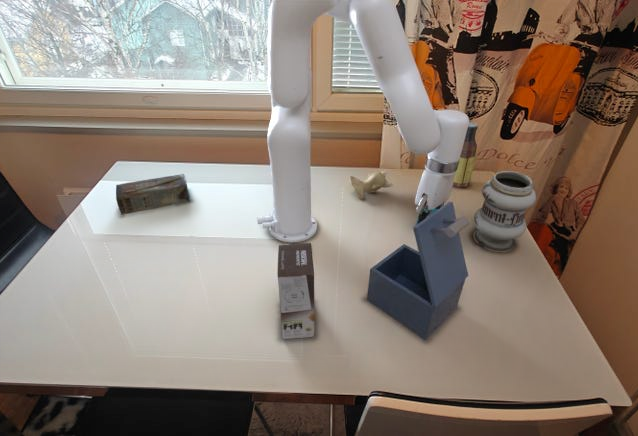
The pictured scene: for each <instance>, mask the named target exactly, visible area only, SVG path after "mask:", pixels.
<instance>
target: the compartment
mask: <svg viewBox="0 0 638 436" xmlns="http://www.w3.org/2000/svg"><path fill="white" fill-rule="evenodd" d="M368 274H369V275H368V284H367V295H366V301H367V302H369V303H371V304H372V305H374V307H377V308H378V309H379V310H381V311H382V312H383V313H385V314H387V315H388V316H389V317H391V318H392V319H394V320H395V321H396V322H398V323H399V324H401V325H403V326H404V327H405V328H407V329H408V330H410V331H411V332H412V333H414V334H416V336H418V337H420V338H422V339H423V340H424V341H427V340H429V338H430V337H431V336H432V335H433V334H434V333H435V332H436V331H437V330H438V329H439V327H441V325H442V324H443V323H445V321H446V320H447V319H448V318H449V317H450V316H451V315H452V314H453V313H454V312H455V311H456V310H458V309H457V308H458V305H459V301H460V299H461V295H462V292H463V289H464V285H465V282H466V279H467V278H465V279H464V280H463V281H462V282H461V283H460V284H459V285H458V286H457V287H456V288H455V289H454V290H453V291H452V292H451V293H450V294H449V295H448V296H447V297H446V298H445V299H444V300H443V301H442V302H441V303H440V304H439V305H438V306H437V307H433V306H432V303H431V299H430V295H429V291H428V287H427V283H426V279H425V275H424V271H423V267H422V263H421V259H420V255H419V251H418V250H416V249H414V248H413V247H411V246H409V245H407V244H405V243H404V244H402V245H401V246H399V247H398V248H397V249H395V250H394V251H392V252H390V254H388V255H387V256H386V257H384V258H382V260H380V261H379V262H377V263H376V264H375V265H374V266H372V267H371V268H369V273H368Z"/></svg>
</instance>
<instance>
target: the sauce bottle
mask: <svg viewBox="0 0 638 436" xmlns="http://www.w3.org/2000/svg"><path fill="white" fill-rule="evenodd" d="M478 127H479V125H478V123H476V122H472V121H469V124H468V129H467V132H466V136H465V140H464V144H463V148H462V152H461V156H460V160H459V164H458V168H457V172H456V173H455V177H454V182H453V186H454V187H456V188H461V189H462V188H467V187H468V186H469V185H470V182H471V180H472V175H473V169H474V166H475V160H476V157H477V155H476V153H477V148H478V145H477V142H476V133H477V130H478V129H479V128H478Z"/></svg>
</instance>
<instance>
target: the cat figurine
mask: <svg viewBox="0 0 638 436" xmlns="http://www.w3.org/2000/svg"><path fill="white" fill-rule="evenodd" d="M387 173H388V172H387V171H386V170H384V171H374V172H370V173H368V174H367V175H366V179H364V180H361V179H359V178H357V177H355V176H353V175H349V182H350V185H351V187H352V189H353V191H354V192H355V194H356V195H357V197H358V198H359V199H360V200H364V199H365V193H368V194H369V193H373V192H374V193H375V192H377V191H378V190H381V189H383V188H391V187H393V182H392V181H391V182H390V181H389V180H387V179H386V177H387Z"/></svg>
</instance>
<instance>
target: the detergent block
mask: <svg viewBox="0 0 638 436" xmlns="http://www.w3.org/2000/svg"><path fill="white" fill-rule="evenodd" d="M437 210H438V209H436V208H434V209H433V210H432V213H431V214H433V213H434V212H436V211H437ZM424 211H425V212H426V213H428V210H427V209H425V208H424ZM418 218H419V215H418V214H417V218H416V223H415V226H416V225H417V223H418Z"/></svg>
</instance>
